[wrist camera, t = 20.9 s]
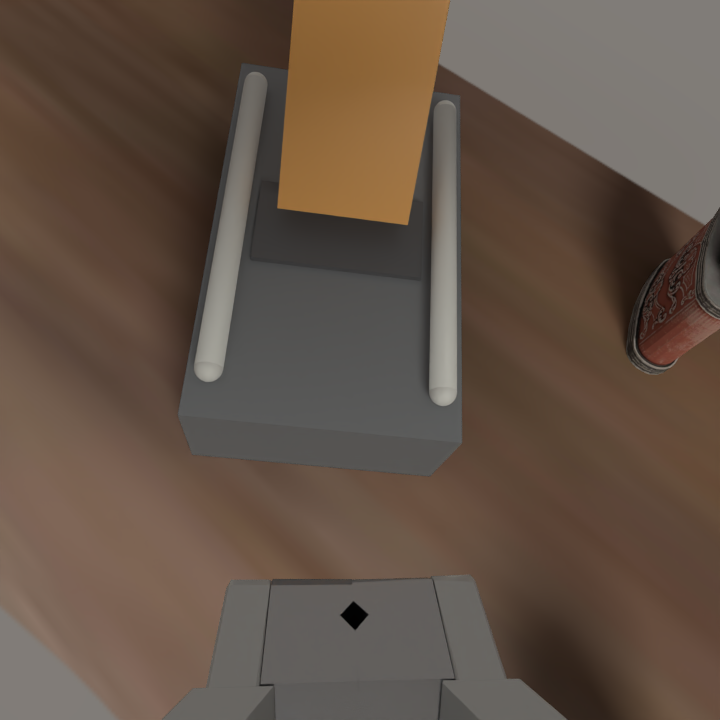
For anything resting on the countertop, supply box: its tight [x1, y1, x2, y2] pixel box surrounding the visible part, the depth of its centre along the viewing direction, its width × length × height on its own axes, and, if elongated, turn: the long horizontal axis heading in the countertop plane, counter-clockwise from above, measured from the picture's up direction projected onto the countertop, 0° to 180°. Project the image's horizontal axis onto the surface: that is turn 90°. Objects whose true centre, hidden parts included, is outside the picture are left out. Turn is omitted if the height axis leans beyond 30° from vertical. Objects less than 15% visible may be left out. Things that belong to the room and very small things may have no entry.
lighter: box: [626, 208, 720, 374], centre depth 35 cm, size 8×3×10 cm, turn 153°
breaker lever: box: [277, 0, 450, 225], centre depth 28 cm, size 6×2×12 cm
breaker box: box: [178, 63, 462, 476], centre depth 34 cm, size 12×20×7 cm, turn 176°
